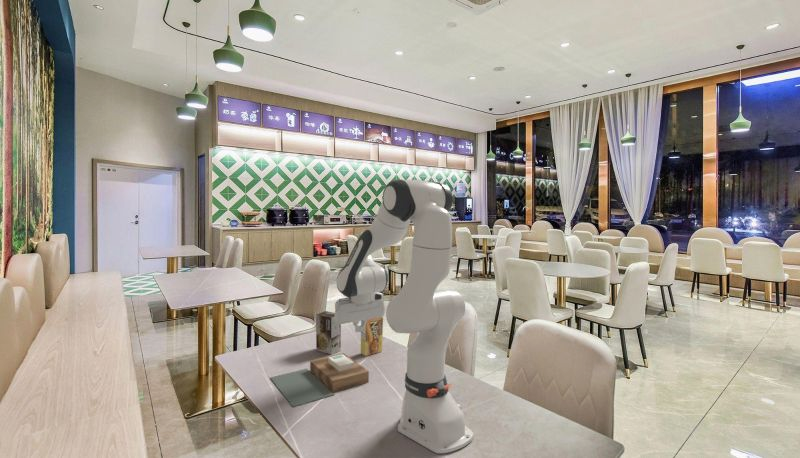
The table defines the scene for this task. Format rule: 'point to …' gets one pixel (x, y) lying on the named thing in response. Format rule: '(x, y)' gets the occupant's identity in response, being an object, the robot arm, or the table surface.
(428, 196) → the robot arm
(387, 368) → the table surface
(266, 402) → the table surface
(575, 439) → the table surface
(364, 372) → the block
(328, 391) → the mat
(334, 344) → the coffee box
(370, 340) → the candy box
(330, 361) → the white box
